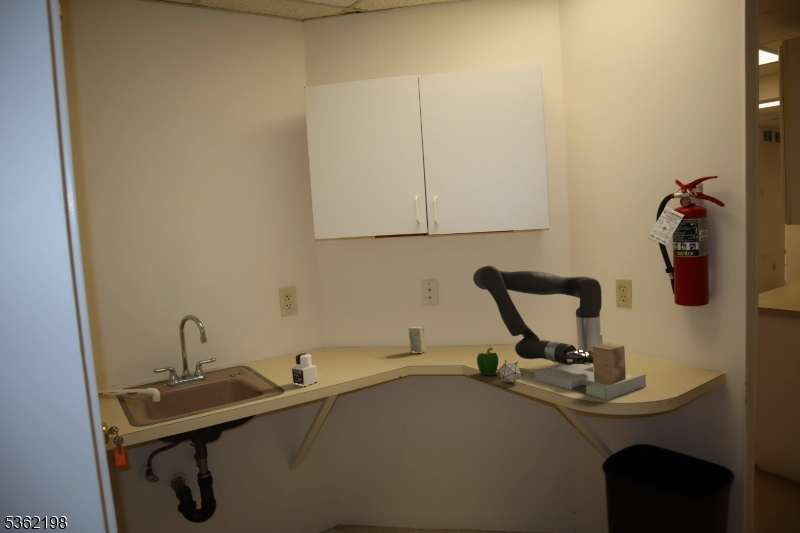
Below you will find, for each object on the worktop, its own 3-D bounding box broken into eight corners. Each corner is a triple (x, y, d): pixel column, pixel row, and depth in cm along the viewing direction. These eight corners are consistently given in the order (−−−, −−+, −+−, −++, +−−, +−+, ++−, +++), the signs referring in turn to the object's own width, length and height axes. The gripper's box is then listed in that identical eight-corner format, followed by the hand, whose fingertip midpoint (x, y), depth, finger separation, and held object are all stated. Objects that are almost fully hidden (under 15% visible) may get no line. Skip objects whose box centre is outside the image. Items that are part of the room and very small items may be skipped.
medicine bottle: (293, 385, 204) (290, 355, 203) (307, 380, 210) (304, 351, 209) (304, 387, 200) (301, 357, 199) (318, 382, 205) (315, 353, 204)
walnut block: (607, 376, 176) (606, 342, 176) (625, 381, 170) (624, 345, 170) (594, 381, 173) (592, 346, 172) (612, 385, 167) (610, 349, 166)
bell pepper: (483, 378, 194) (481, 352, 193) (474, 373, 202) (472, 348, 201) (503, 375, 196) (502, 349, 195) (494, 369, 204) (492, 345, 203)
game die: (510, 394, 184) (499, 377, 179) (499, 380, 192) (488, 363, 187) (530, 380, 184) (520, 363, 180) (519, 367, 192) (509, 349, 187)
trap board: (571, 368, 198) (571, 358, 198) (646, 385, 172) (645, 374, 171) (534, 379, 188) (533, 368, 188) (607, 399, 161) (606, 387, 161)
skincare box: (426, 352, 242) (424, 326, 241) (421, 354, 238) (420, 328, 237) (414, 351, 245) (412, 325, 244) (410, 353, 242) (408, 327, 241)
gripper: (547, 346, 185) (586, 354, 171) (572, 339, 192) (612, 347, 177) (548, 366, 186) (588, 376, 171) (573, 359, 193) (613, 368, 178)
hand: (600, 361), depth 174 cm, fingers closed
